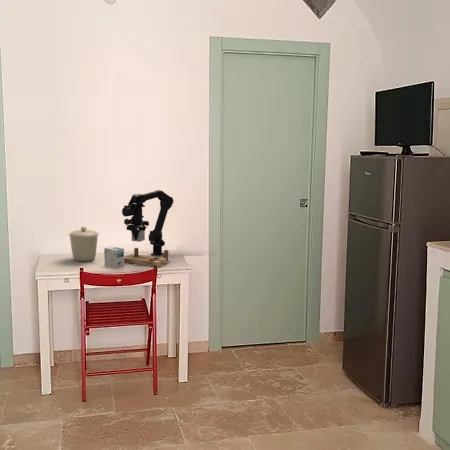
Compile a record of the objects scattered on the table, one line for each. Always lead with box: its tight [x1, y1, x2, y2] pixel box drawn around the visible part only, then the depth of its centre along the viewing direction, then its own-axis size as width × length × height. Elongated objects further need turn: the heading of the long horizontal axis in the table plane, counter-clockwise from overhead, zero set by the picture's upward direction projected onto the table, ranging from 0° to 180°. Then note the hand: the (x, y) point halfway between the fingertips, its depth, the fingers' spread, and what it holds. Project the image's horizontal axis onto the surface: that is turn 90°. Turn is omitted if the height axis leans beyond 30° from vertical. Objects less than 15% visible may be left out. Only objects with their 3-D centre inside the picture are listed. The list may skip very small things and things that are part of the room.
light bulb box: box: [103, 245, 125, 268], centre depth 357 cm, size 11×7×11 cm, turn 56°
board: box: [124, 247, 168, 268], centre depth 364 cm, size 12×26×8 cm, turn 67°
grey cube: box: [131, 229, 146, 243], centre depth 373 cm, size 6×6×6 cm
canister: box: [68, 226, 100, 263], centre depth 368 cm, size 18×18×21 cm
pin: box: [163, 249, 169, 262], centre depth 369 cm, size 3×3×7 cm
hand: (138, 238), depth 374 cm, fingers closed on grey cube, 6 cm apart
